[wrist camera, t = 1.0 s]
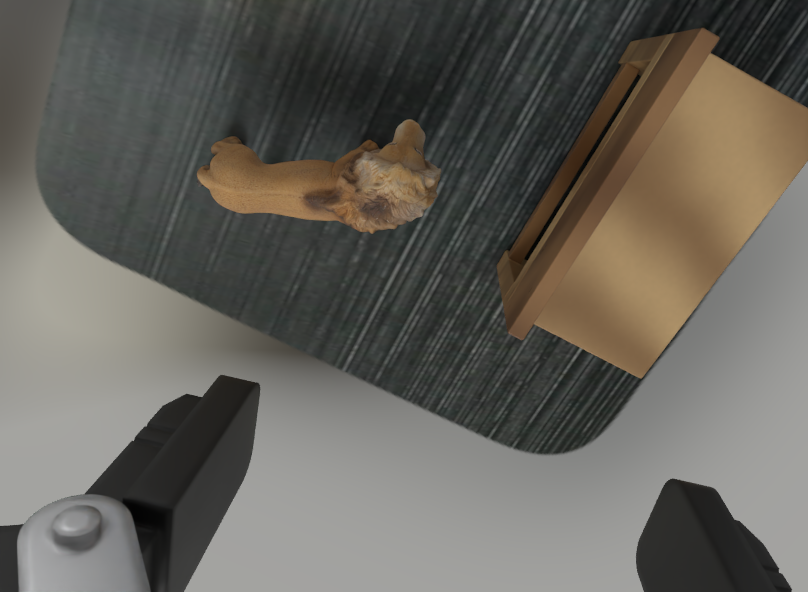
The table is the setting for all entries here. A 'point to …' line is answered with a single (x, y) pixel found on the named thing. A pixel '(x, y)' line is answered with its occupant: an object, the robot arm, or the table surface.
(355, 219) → the lion figurine
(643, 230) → the bench
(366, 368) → the table surface
